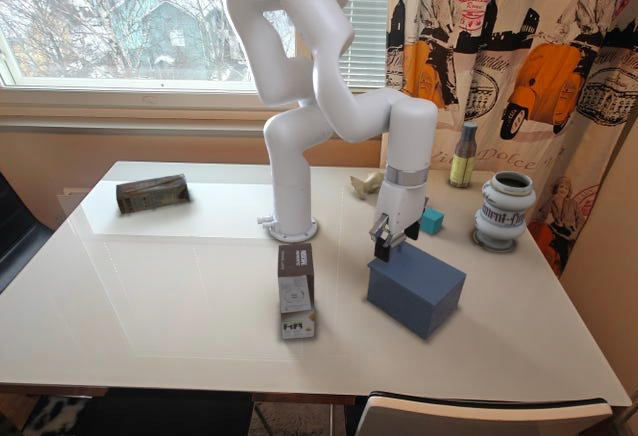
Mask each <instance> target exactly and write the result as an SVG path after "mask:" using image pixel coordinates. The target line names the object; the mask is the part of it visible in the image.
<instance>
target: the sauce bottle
mask: <svg viewBox="0 0 638 436" xmlns="http://www.w3.org/2000/svg"><path fill="white" fill-rule="evenodd" d="M478 127H479V125H478V123H476V122H472V121H466V122H464V123H463V124H462V131H461V132H462V133H461V136H460V139H459V140H458V141H457V143H456V145H455V149H454V153H453V157H452V164H451V169H450V175H449V183H450V185H451V186H454V187H456V188H461V189H462V188H467V187H468V186H469V185H470V182H471V180H472V175H473V169H474V166H475V160H476V157H477V155H476V153H477V148H478V145H477V142H476V133H477V130H478V129H479V128H478Z"/></svg>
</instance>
